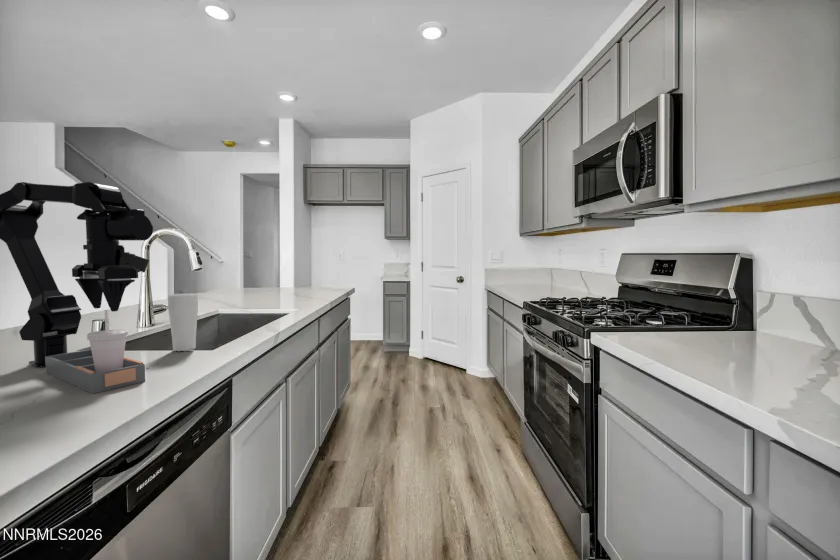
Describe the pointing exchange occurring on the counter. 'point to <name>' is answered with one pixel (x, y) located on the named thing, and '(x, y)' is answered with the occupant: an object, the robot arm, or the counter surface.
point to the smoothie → (107, 347)
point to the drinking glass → (183, 320)
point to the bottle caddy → (93, 371)
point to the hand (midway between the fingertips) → (105, 309)
